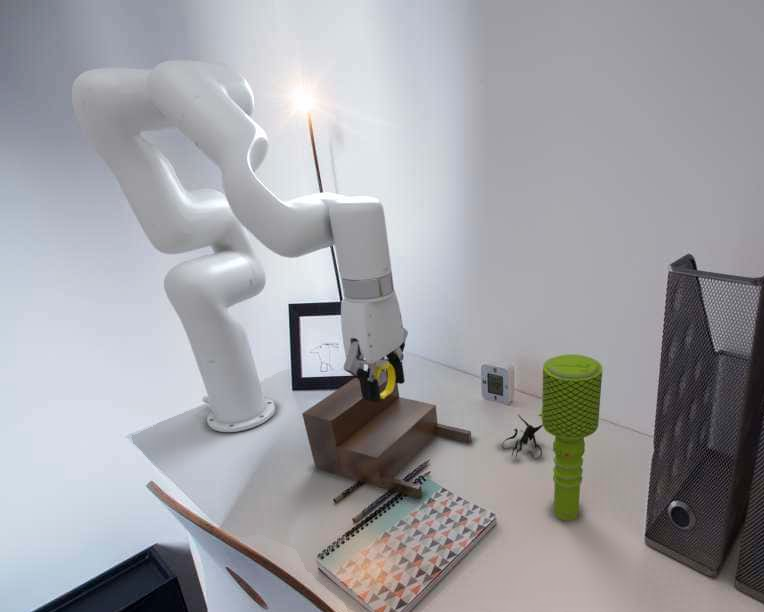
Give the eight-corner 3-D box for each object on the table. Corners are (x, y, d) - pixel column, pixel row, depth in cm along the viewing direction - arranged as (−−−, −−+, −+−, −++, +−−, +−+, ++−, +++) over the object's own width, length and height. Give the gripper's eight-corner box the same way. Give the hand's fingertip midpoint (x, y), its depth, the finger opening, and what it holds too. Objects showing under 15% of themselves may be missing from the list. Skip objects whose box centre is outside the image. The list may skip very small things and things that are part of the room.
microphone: (589, 496, 83) (599, 349, 70) (593, 530, 76) (606, 375, 64) (537, 495, 83) (539, 349, 71) (537, 529, 77) (539, 375, 64)
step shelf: (315, 468, 91) (301, 413, 86) (377, 417, 105) (369, 368, 100) (419, 499, 83) (411, 441, 78) (471, 440, 97) (468, 387, 92)
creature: (534, 470, 91) (554, 439, 96) (531, 448, 87) (552, 418, 92) (495, 457, 94) (517, 428, 99) (491, 436, 91) (513, 407, 96)
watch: (383, 404, 86) (378, 371, 83) (368, 402, 87) (362, 369, 84) (401, 388, 91) (396, 356, 88) (386, 386, 91) (382, 354, 88)
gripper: (381, 268, 88) (395, 366, 96) (308, 300, 74) (332, 411, 83) (420, 272, 85) (430, 373, 94) (351, 306, 71) (371, 420, 80)
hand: (384, 389), depth 88 cm, fingers closed on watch, 6 cm apart
